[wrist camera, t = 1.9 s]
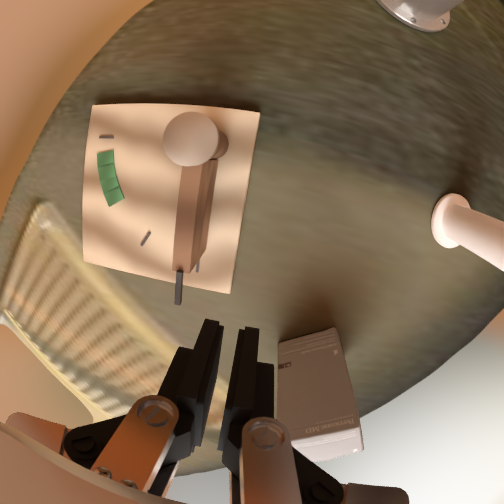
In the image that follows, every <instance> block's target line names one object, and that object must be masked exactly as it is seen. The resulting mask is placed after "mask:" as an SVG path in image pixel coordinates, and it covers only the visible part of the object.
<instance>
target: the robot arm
mask: <svg viewBox="0 0 504 504" xmlns="http://www.w3.org/2000/svg"><path fill="white" fill-rule="evenodd" d="M376 1H377V2H378V3H379V4H380V5H381V6H382V7H383V8H384V9H385V10H386V11H387V12H388V13H390V14H391V15H392V16H394V17H395V18H396V19H398V20H400V21H401V22H403V23H404V24H406V25H408V26H410V27H412V28H415V29H418V30H420V31H425V32H438V31H441V30H442V29H444V28H445V27H447V26H448V24H449V21H450V12H449V10H451V9H452V8H454V7H455V6H457V5H458V4H460V3H461V2H463V1H465V0H376ZM223 330H224V326H221V325H219V321H214V320H210V319H205V320H204V323H203V326H202V328H201V331H200V333H199V336H198V339H197V341H196V344H195V346H194V349H188V348H184V347H179V348H178V349H177V352H176V354H175V356H174V358H173V360H172V363H171V365H170V367H169V369H168V372H167V374H166V376H165V378H164V381H163V383H162V385H161V387H160V390H159V392H158V394H157V395H149V396H144V397H142V398H140V399H138V400H137V401H136V402H135V403H134V405H133V406H132V408H131V409H130V411H129V412H128V414H126V415H123V416H119V417H116V418H112V419H109V420H105V421H101V422H97V423H93V424H89V425H86V426H82V427H77V428H75V429H68V428H67V427H66V426H65V425H61V424H57V423H53V422H50V421H47V420H43V419H40V418H37V417H34V416H30V415H28V414H25V413H20V412H17V413H13V414H12V415H10V416H9V417H8V419H7V421H6V424H3V423H1V422H0V504H186V503H181V502H178V501H174V500H170V499H166V498H165V496H166V493H167V491H168V488H169V486H170V484H171V482H172V480H173V478H174V475H175V473H176V471H177V469H178V466H179V464H180V461H181V459H184V458H186V457H188V456H190V454H191V452H194V448H195V446H199V447H200V446H201V443H202V438H203V434H204V430H205V426H206V421H207V417H208V413H209V409H210V404H211V400H212V396H213V392H214V387H215V383H216V379H217V373H218V365H219V358H220V351H221V344H222V337H223ZM258 341H259V329H258V328H252V327H246V326H245V330H242V329H239V334H238V339H237V344H236V350H235V355H234V361H233V366H232V372H231V377H230V383H229V388H228V393H227V399H226V404H225V410H224V415H223V421H222V426H221V432H220V437H219V443H218V448H217V450H220V451H223V454H222V463H223V464H224V465H225V466H226V467H227V468H228V469H229V470H230V504H409V497H408V495H407V493H406V492H405V491H404V490H402V489H401V488H397V487H384V486H372V485H363V484H355V483H348V484H347V485H346V484H340V483H339V482H338V481H337V480H336V479H334V478H333V477H332V476H330V475H329V474H327V473H326V472H325V471H324V470H322V469H321V468H320V467H318V466H317V465H315V464H314V463H313V462H312V461H310V460H309V459H308V458H306V457H305V456H304V455H303V454H301V453H300V452H299V451H298V450H296V449H295V448H294V447H293V446H292V444H291V438H290V434H289V431H288V429H287V428H286V426H285V425H284V424H283V423H281V422H280V421H278V420H276V419H274V365H273V364H268V363H261V362H257V355H258Z"/></svg>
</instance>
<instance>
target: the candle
mask: <svg viewBox="0 0 504 504" xmlns="http://www.w3.org/2000/svg"><path fill="white" fill-rule="evenodd" d="M431 229H432V233H433V236H434V238H435V240H436V241H437V242H438V243H439V244H440V245H442V246H443V247H446V248H454V247H456V246H458V245H462V246H463V247H465V248H467V249H468V250H470V251H472V252H473V253H475V254H477V255H478V256H480V257H482V258H483V259H485V260H487V261H488V262H490V263H491V264H493V265H494V266H496V267H498V268H499V269H501V270H502V271H504V222H503V221H500V220H498V219H495V218H493V217H490V216H488V215H485V214H482V213H480V212H477V211H474V210H472V209H471V208H470V206H469V203H468V202H467V200H466V199H465V198H464V197H462V196H461V195H458V194H455V193H451V194H447V195H445V196H443V197H442V198H441V199H440V200H439V201H438V203H437V204H436V206H435V208H434V210H433V213H432V218H431Z"/></svg>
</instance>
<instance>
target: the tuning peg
mask: <svg viewBox="0 0 504 504" xmlns="http://www.w3.org/2000/svg"><path fill="white" fill-rule="evenodd" d="M228 145H229V143H228V139H227V137H226V136H225V134H223V133H222V132H220V131H219V130H218V128H217V126H216V124H215V123H214V122H213V121H212V120H211V119H210V118H209V117H207V116H206V115H204V114H202V113H199V112H185V113H182V114H179V115H177V116H176V117H174V118H173V119H172V120H171V121H170V122H169V124H168V125H167V127H166V129H165V131H164V134H163V147H164V150H165V153H166V154H167V156H168V157H169V158H170V159H171V160H172V161H173V162H174V163H176V164H178V165H181V166H182V171H181V179H180V187H179V195H178V204H177V214H176V224H175V235H174V247H173V262H172V271H177V272H176V285H175V304H176V305H180V304H181V301H182V285H183V273H187V274H190V273H191V271H192V270H193V268H194V267H195V265H196V264H197V262H198V261H199V259H200V258H201V256H202V255H203V253H204V252H205V250H206V246H207V238H208V230H209V222H210V215H211V208H212V200H213V193H214V187H215V180H216V173H217V167H218V161H219V160H214V159H218V158H220V157H222V156H223V155H224V154H225V153H226V152H227V150H228Z"/></svg>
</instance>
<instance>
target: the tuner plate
mask: <svg viewBox="0 0 504 504" xmlns="http://www.w3.org/2000/svg"><path fill="white" fill-rule="evenodd" d="M185 112H199V113H202V114H204V115H206V116H207V117H209V118H210V119H211V120H212V121H213V122H214V123H215V124H216V126H217V128H218V130H219V131H220V132H222V133H223V134H225V136H226V137H227V139H228V143H229V145H228V150H227V152H226V153H225V154H224V155H223V156H222V157H220V158H218V159H214V160H219V161H218V167H217V173H216V180H215V187H214V193H213V200H212V208H211V215H210V222H209V230H208V238H207V246H206V250H205V252H204V253H203V255H202V256H201V258H200V259H199V261H198V262H197V264H196V265H195V267H194V268H193V270H192V271H191V273H190V274H187V273H183V285H187V286H192V287H197V288H202V289H207V290H212V291H217V292H222V293H227V294H230V291H231V287H232V281H233V274H234V268H235V262H236V256H237V249H238V243H239V237H240V231H241V225H242V219H243V213H244V207H245V201H246V195H247V189H248V183H249V177H250V172H251V166H252V160H253V154H254V149H255V143H256V138H257V132H258V126H259V121H260V113H259V112H252V111H245V110H237V109H229V108H220V107H210V106H198V105H182V104H148V103H140V104H107V105H93V106H92V112H91V118H90V124H89V131H88V138H87V147H86V156H85V167H84V182H83V212H82V224H83V255H84V261H85V262H89V263H93V264H97V265H101V266H104V267H108V268H112V269H117V270H121V271H125V272H129V273H133V274H137V275H142V276H146V277H150V278H155V279H159V280H164V281H168V282H173V283H176V272H177V271H172V262H173V247H174V235H175V224H176V214H177V204H178V195H179V187H180V179H181V171H182V166H181V165H178V164H176V163H174V162H173V161H172V160H171V159H170V158H169V157H168V156H167V154H166V153H165V150H164V147H163V134H164V131H165V129H166V127H167V125H168V124H169V122H170V121H171V120H172V119H173V118H174V117H176V116H177V115H179V114H182V113H185Z"/></svg>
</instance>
